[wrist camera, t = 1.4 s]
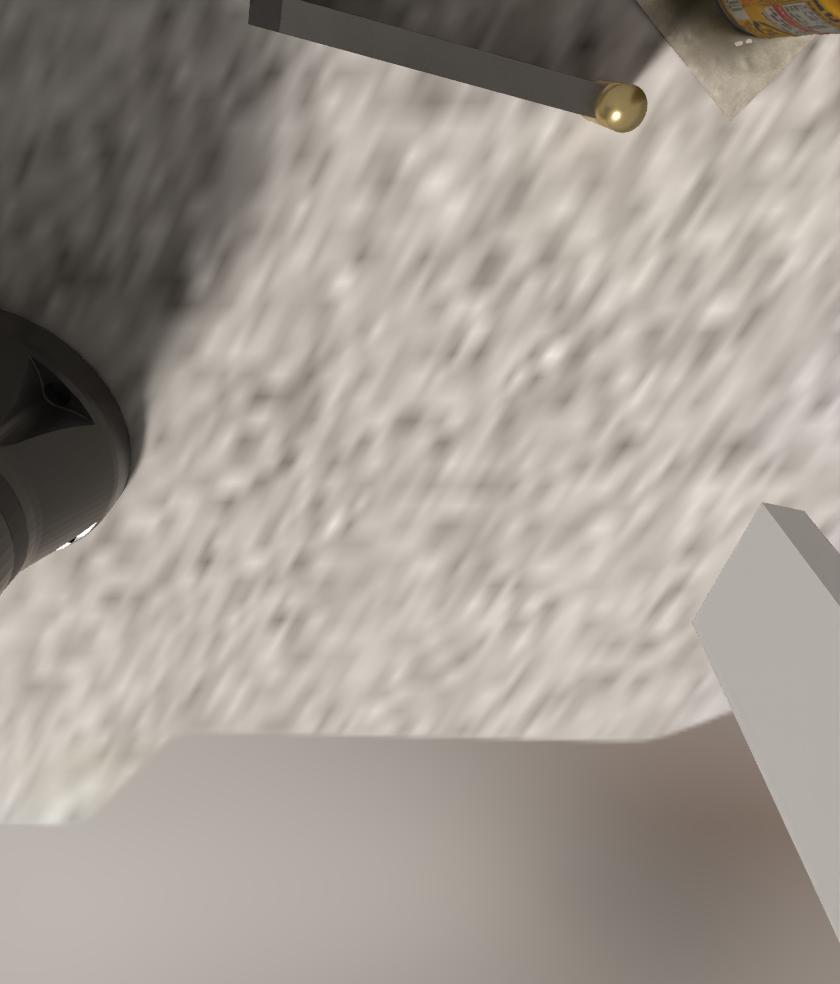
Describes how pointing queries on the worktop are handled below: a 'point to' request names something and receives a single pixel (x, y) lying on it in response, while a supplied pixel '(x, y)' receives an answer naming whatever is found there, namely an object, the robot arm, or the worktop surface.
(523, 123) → the worktop surface
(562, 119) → the worktop surface
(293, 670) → the worktop surface
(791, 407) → the worktop surface
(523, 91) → the grey open rectangular box
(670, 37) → the condiment
